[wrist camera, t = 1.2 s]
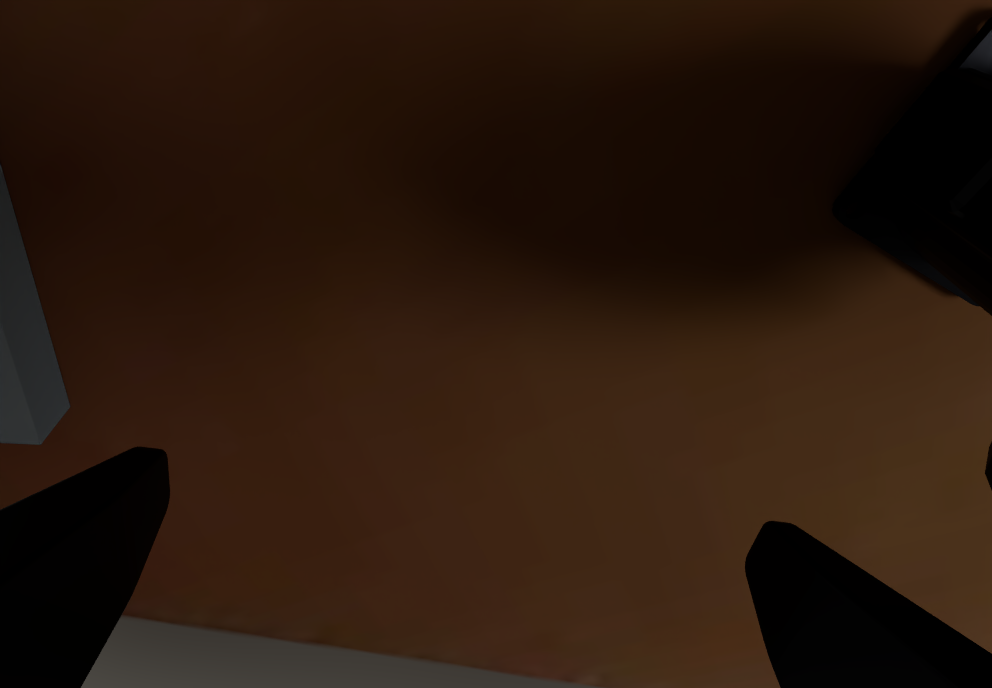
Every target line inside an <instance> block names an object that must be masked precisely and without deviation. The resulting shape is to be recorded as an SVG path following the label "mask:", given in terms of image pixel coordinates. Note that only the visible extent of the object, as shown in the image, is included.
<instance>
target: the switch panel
mask: <svg viewBox="0 0 992 688" xmlns="http://www.w3.org/2000/svg"><path fill="white" fill-rule="evenodd" d="M69 408H70V404H69V401H68V397H67V394H66V390H65V387H64V383H63V380H62V376H61V373H60V369H59V366H58V362H57V359H56V355H55V352H54V348H53V345H52V341H51V338H50V334H49V331H48V327H47V324H46V320H45V317H44V314H43V310H42V307H41V303H40V300H39V296H38V293H37V289H36V286H35V282H34V279H33V275H32V272H31V268H30V265H29V261H28V258H27V254H26V251H25V247H24V244H23V240H22V237H21V234H20V230H19V227H18V223H17V220H16V216H15V213H14V209H13V206H12V202H11V199H10V195H9V192H8V188H7V185H6V181H5V178H4V174H3V171H2V167H1V164H0V443H15V444H36V445H41V444H42V442H43V441H44V440H45V438H46V437H47V436H48V435H49V433H50V432H51V431H52V430H53V428H54V427H55V426H56V424H57V423H58V422H59V421H60V419H61V418H62V417H63V415H64V414H65V413H66V412H67V410H68V409H69Z"/></svg>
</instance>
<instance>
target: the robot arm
mask: <svg viewBox="0 0 992 688" xmlns="http://www.w3.org/2000/svg"><path fill="white" fill-rule="evenodd" d="M857 202H858V207H857V209H856V210H855V211H854V212H852V213H849V214H847V209H848V208H849V206H851V205H852V204H853V203H857ZM832 211H833V215H834V216H835V217H836V218H837V219H838V220H839V221H840V222H841V223H842V224H843V225H844V226H846V227H848V228H849V229H851V230H852V231H854V232H856V233H857V234H859V235H860V236H862V237H864V238H865V239H867V240H869V241H870V242H872V243H873V244H875V245H877V246H878V247H880V248H881V249H883V250H885V251H886V252H888V253H890V254H891V255H893V256H894V257H896V258H898V259H899V260H901V261H902V262H904V263H906V264H907V265H909V266H911V267H912V268H914V269H915V270H917V271H919V272H920V273H922V274H923V275H925V276H927V277H928V278H930V279H932V280H933V281H935V282H936V283H938V284H940V285H941V286H943V287H944V288H946V289H948V290H949V291H951V292H953V293H954V294H956V295H957V296H959V297H961V298H962V299H964V300H965V301H967V302H969V303H970V304H972V305H975V306H980V307H982V308H983V309H984V310H985V311H986V312H988V313H989V314H990V315H991V316H992V17H991V18H990V19H989V20H988V21H987V22H986V24H985V25H984V26H983V27H982V28H981V29H980V31H979V32H978V33H977V34H976V35H975V36H974V38H973V39H972V40H971V41H970V42H969V44H968V45H967V46H966V47H965V48H964V49H963V51H962V52H961V53H960V54H959V55H958V56H957V58H956V59H955V60H954V61H953V62H952V63H951V65H950V66H949V67H948V68H947V69H946V70H945V71H943V72H941V73H939V74H938V75H937V77H936V78H935V79H934V80H933V81H932V83H931V84H930V85H929V86H928V87H927V88H926V90H925V91H924V92H923V93H922V94H921V95H920V97H919V98H918V99H917V100H916V101H915V103H914V104H913V105H912V106H911V107H910V108H909V110H908V111H907V112H906V113H905V114H904V116H903V117H902V118H901V119H900V120H899V121H898V123H897V124H896V125H895V126H894V127H893V128H892V130H891V131H890V132H889V133H888V134H887V136H886V137H885V138H884V139H883V140H882V141H881V143H880V144H879V145H878V146H877V147H876V149H875V154H874V155H873V156H872V157H871V159H870V160H869V161H868V162H867V163H866V164H865V166H864V167H863V168H862V169H861V170H860V171H859V173H858V174H857V175H856V176H855V177H854V179H853V180H852V181H851V182H850V183H849V184H848V186H847V187H846V188H845V189H844V190H843V191H842V193H841V194H840V195H839V196H838V197H837V199H836V200H835V202H834V204H833V209H832ZM985 475H986V477H987V480H988V482H989V485H990V487H991V490H992V442H991V444H990V447H989V451H988V457H987V464H986V470H985ZM169 499H170V485H169V471H168V458H167V454H166V452H165V451H164V450H162V449H156V448H147V447H135V448H132V449H129V450H127V451H125V452H123V453H121V454H119V455H117V456H114V457H112V458H110V459H108V460H106V461H104V462H102V463H100V464H97V465H95V466H93V467H91V468H89V469H87V470H85V471H82V472H80V473H78V474H76V475H74V476H72V477H70V478H67V479H65V480H63V481H61V482H59V483H57V484H55V485H52V486H50V487H48V488H46V489H44V490H42V491H40V492H37V493H35V494H33V495H31V496H29V497H27V498H25V499H22V500H20V501H18V502H16V503H14V504H12V505H10V506H7V507H5V508H3V509H1V510H0V688H81V686H82V684H83V683H84V681H85V679H86V677H87V675H88V674H89V672H90V670H91V668H92V667H93V665H94V663H95V661H96V660H97V658H98V656H99V654H100V652H101V651H102V649H103V647H104V645H105V644H106V642H107V640H108V638H109V636H110V635H111V633H112V631H113V629H114V627H115V626H116V624H117V622H118V620H119V619H120V617H121V615H122V613H123V611H124V610H125V608H126V606H127V604H128V602H129V600H130V598H131V596H132V594H133V592H134V590H135V587H136V585H137V583H138V580H139V578H140V575H141V573H142V570H143V568H144V566H145V563H146V561H147V558H148V556H149V553H150V551H151V548H152V546H153V543H154V541H155V538H156V536H157V533H158V531H159V528H160V526H161V524H162V521H163V519H164V516H165V514H166V511H167V508H168V504H169ZM745 572H746V577H747V581H748V584H749V588H750V592H751V595H752V599H753V603H754V607H755V610H756V614H757V618H758V621H759V625H760V629H761V632H762V636H763V640H764V643H765V646H766V649H767V653H768V656H769V659H770V661H771V664H772V667H773V670H774V672H775V675H776V677H777V680H778V682H779V685H780V687H781V688H992V654H991V653H990V652H988V651H987V650H985V649H984V648H982V647H980V646H979V645H977V644H976V643H974V642H973V641H971V640H970V639H968V638H967V637H965V636H964V635H962V634H961V633H959V632H958V631H956V630H955V629H953V628H951V627H950V626H948V625H947V624H945V623H944V622H942V621H941V620H939V619H938V618H936V617H935V616H933V615H932V614H930V613H929V612H927V611H925V610H924V609H922V608H921V607H919V606H918V605H916V604H915V603H913V602H912V601H910V600H909V599H907V598H906V597H904V596H903V595H901V594H899V593H898V592H896V591H895V590H893V589H892V588H890V587H889V586H887V585H886V584H884V583H883V582H881V581H880V580H878V579H877V578H875V577H874V576H872V575H870V574H869V573H867V572H866V571H864V570H863V569H861V568H860V567H858V566H857V565H855V564H854V563H852V562H851V561H849V560H848V559H846V558H844V557H843V556H841V555H840V554H838V553H837V552H835V551H834V550H832V549H831V548H829V547H828V546H826V545H825V544H823V543H822V542H820V541H819V540H817V539H815V538H814V537H812V536H811V535H809V534H808V533H806V532H805V531H803V530H802V529H800V528H799V527H797V526H796V525H793V524H791V523H786V522H778V521H768V522H766V523H765V524H764V525H763V526H762V528H761V530H760V532H759V533H758V535H757V537H756V539H755V541H754V543H753V545H752V547H751V549H750V550H749V552H748V554H747V557H746V561H745Z"/></svg>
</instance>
